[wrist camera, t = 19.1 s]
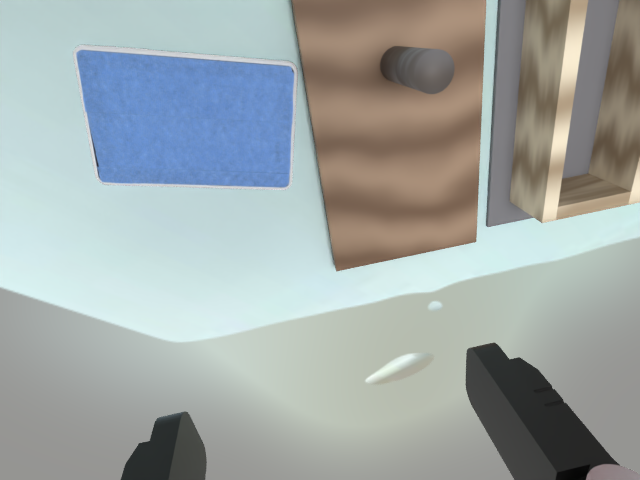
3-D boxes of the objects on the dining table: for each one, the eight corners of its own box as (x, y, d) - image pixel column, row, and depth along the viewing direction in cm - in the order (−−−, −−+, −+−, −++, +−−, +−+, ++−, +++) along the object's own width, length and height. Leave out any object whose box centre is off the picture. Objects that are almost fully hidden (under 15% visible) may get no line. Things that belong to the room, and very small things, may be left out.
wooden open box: (529, -48, 34) (578, -62, 29) (647, -68, 35) (715, -87, 30) (509, 201, 46) (542, 222, 41) (598, 183, 46) (641, 201, 41)
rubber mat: (503, -87, 33) (505, -88, 33) (668, -115, 34) (672, -116, 34) (486, 225, 48) (487, 227, 47) (602, 201, 48) (605, 202, 48)
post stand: (290, -7, 34) (301, -23, 24) (479, -40, 35) (559, -68, 25) (334, 264, 47) (353, 320, 38) (470, 236, 48) (520, 284, 39)
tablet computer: (99, 182, 39) (94, 186, 38) (73, 42, 34) (67, 42, 33) (291, 187, 42) (292, 191, 41) (297, 60, 37) (299, 61, 36)
